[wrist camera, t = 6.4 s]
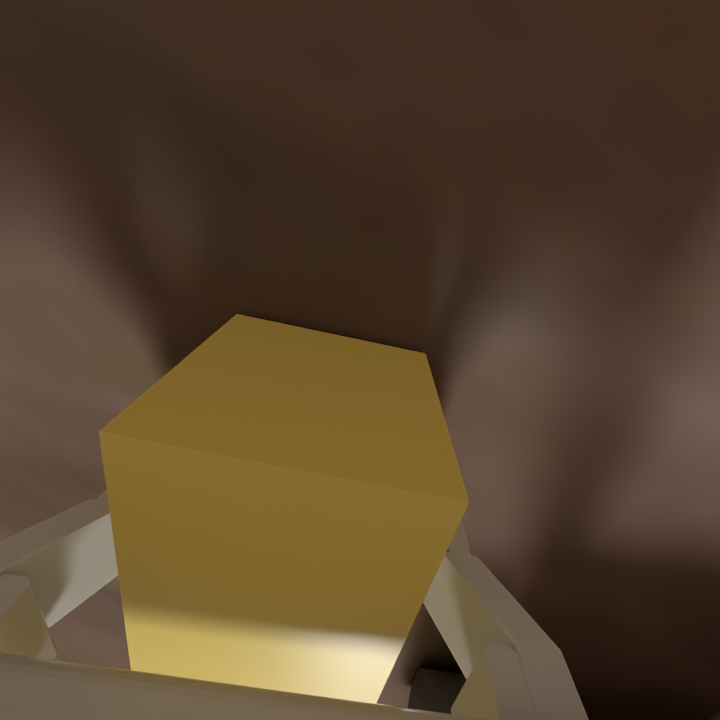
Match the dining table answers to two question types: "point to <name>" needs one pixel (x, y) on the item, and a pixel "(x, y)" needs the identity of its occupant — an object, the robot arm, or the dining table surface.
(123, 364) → the dining table surface
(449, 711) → the flatbed trolley
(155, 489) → the tall gold block
